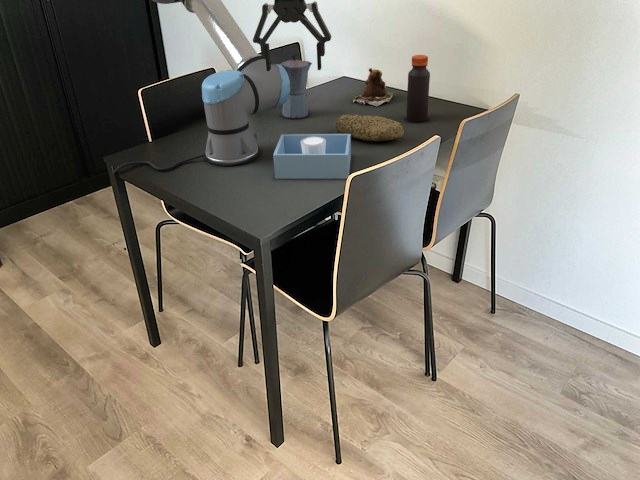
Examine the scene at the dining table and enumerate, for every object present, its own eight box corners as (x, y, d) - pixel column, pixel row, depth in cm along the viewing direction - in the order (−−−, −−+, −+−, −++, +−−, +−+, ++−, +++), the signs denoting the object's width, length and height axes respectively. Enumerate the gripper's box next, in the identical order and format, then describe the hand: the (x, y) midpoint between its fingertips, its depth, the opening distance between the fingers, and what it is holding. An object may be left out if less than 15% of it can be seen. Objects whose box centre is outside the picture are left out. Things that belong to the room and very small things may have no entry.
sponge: (332, 141, 172) (380, 144, 157) (331, 115, 169) (379, 116, 155) (362, 136, 180) (409, 139, 165) (361, 112, 178) (409, 112, 163)
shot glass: (298, 168, 151) (296, 144, 147) (307, 158, 156) (306, 134, 153) (321, 171, 149) (320, 146, 145) (330, 160, 154) (329, 137, 150)
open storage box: (275, 178, 148) (273, 155, 144) (283, 156, 160) (281, 134, 157) (348, 178, 146) (348, 154, 142) (351, 156, 158) (350, 133, 155)
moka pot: (321, 113, 190) (318, 54, 179) (282, 124, 183) (277, 62, 172) (306, 106, 196) (302, 49, 186) (268, 116, 189) (262, 57, 179)
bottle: (421, 114, 185) (424, 53, 174) (431, 120, 179) (435, 57, 169) (402, 117, 183) (405, 55, 172) (412, 124, 178) (415, 60, 167)
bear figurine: (401, 96, 201) (402, 62, 195) (378, 108, 192) (379, 73, 185) (370, 91, 209) (370, 58, 202) (346, 102, 199) (346, 67, 192)
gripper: (235, -15, 134) (245, 74, 145) (337, -18, 131) (340, 72, 143) (241, -19, 140) (250, 66, 152) (339, -22, 138) (341, 64, 149)
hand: (294, 69), depth 147 cm, fingers open, 13 cm apart
